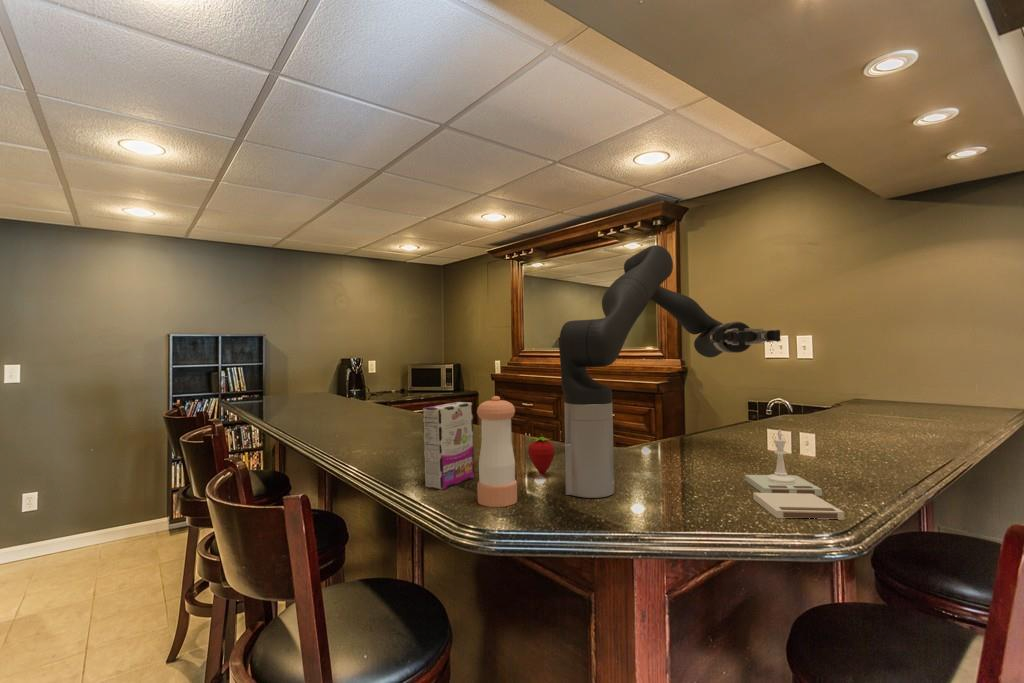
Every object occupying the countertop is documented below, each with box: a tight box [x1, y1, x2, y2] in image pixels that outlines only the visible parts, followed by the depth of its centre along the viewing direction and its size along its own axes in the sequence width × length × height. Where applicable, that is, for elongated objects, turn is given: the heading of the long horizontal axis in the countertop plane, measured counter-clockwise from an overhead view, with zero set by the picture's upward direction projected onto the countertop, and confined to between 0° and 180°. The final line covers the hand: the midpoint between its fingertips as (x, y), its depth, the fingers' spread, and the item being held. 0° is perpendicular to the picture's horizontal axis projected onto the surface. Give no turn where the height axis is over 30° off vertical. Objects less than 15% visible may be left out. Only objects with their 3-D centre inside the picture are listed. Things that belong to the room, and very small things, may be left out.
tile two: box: [744, 474, 823, 497], centre depth 94 cm, size 10×10×1 cm
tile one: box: [752, 492, 845, 521], centre depth 82 cm, size 10×10×1 cm
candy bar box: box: [422, 401, 475, 490], centre depth 103 cm, size 11×5×16 cm, turn 148°
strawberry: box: [527, 434, 556, 476], centre depth 107 cm, size 6×8×10 cm
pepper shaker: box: [476, 395, 518, 508], centre depth 89 cm, size 7×7×19 cm
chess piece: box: [767, 429, 796, 485], centre depth 95 cm, size 5×5×10 cm
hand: (755, 335), depth 106 cm, fingers open, 8 cm apart
